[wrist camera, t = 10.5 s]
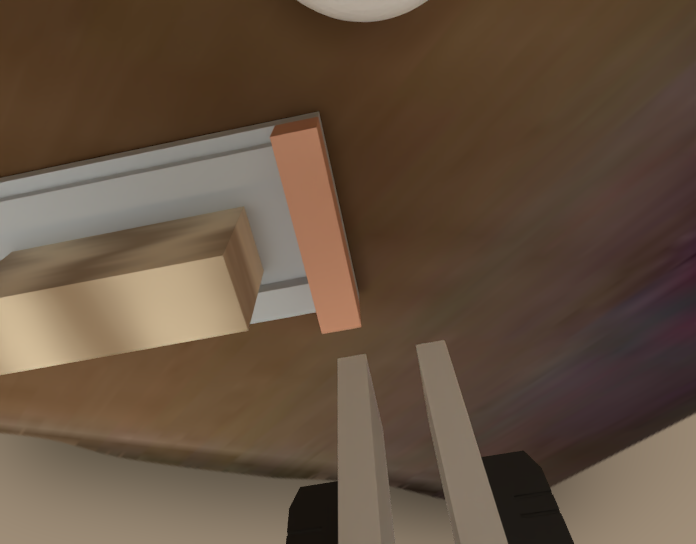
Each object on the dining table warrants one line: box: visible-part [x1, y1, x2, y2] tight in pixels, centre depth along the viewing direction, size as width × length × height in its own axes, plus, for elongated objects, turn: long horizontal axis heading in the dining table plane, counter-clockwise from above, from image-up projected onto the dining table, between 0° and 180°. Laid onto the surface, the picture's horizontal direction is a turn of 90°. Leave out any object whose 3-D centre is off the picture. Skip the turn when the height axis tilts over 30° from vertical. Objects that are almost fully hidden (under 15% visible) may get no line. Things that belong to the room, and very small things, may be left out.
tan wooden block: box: [0, 206, 264, 375], centre depth 25 cm, size 12×4×6 cm, turn 101°
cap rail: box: [0, 111, 361, 334], centre depth 27 cm, size 26×10×3 cm, turn 101°
